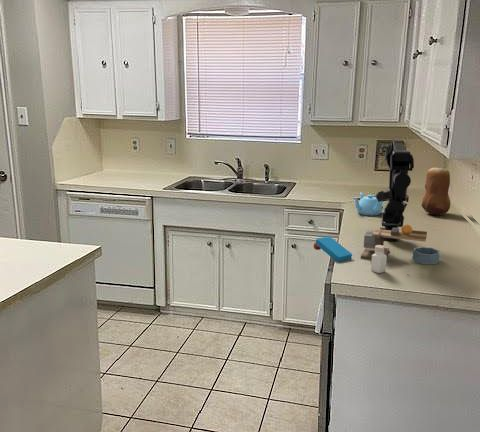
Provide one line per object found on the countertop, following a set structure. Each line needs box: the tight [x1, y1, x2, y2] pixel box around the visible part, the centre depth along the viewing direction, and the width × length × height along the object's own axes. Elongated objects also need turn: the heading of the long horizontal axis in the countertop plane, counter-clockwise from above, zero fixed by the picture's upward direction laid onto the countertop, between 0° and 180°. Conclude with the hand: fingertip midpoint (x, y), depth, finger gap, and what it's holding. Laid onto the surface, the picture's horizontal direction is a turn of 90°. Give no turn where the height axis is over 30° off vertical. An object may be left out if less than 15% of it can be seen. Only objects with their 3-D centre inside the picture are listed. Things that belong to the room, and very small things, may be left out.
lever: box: [313, 236, 353, 263], centre depth 195 cm, size 7×7×18 cm
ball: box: [400, 224, 413, 235], centre depth 187 cm, size 4×4×4 cm
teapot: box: [353, 191, 384, 217], centre depth 259 cm, size 15×15×10 cm
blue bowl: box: [411, 246, 441, 265], centre depth 186 cm, size 10×10×4 cm
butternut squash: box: [421, 167, 451, 216], centre depth 253 cm, size 14×13×25 cm
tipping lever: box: [363, 227, 428, 249], centre depth 189 cm, size 9×22×7 cm, turn 66°
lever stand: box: [360, 226, 390, 261], centre depth 193 cm, size 14×9×10 cm, turn 156°
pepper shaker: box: [370, 245, 388, 274], centre depth 174 cm, size 4×4×10 cm
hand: (396, 223), depth 191 cm, fingers open, 4 cm apart
